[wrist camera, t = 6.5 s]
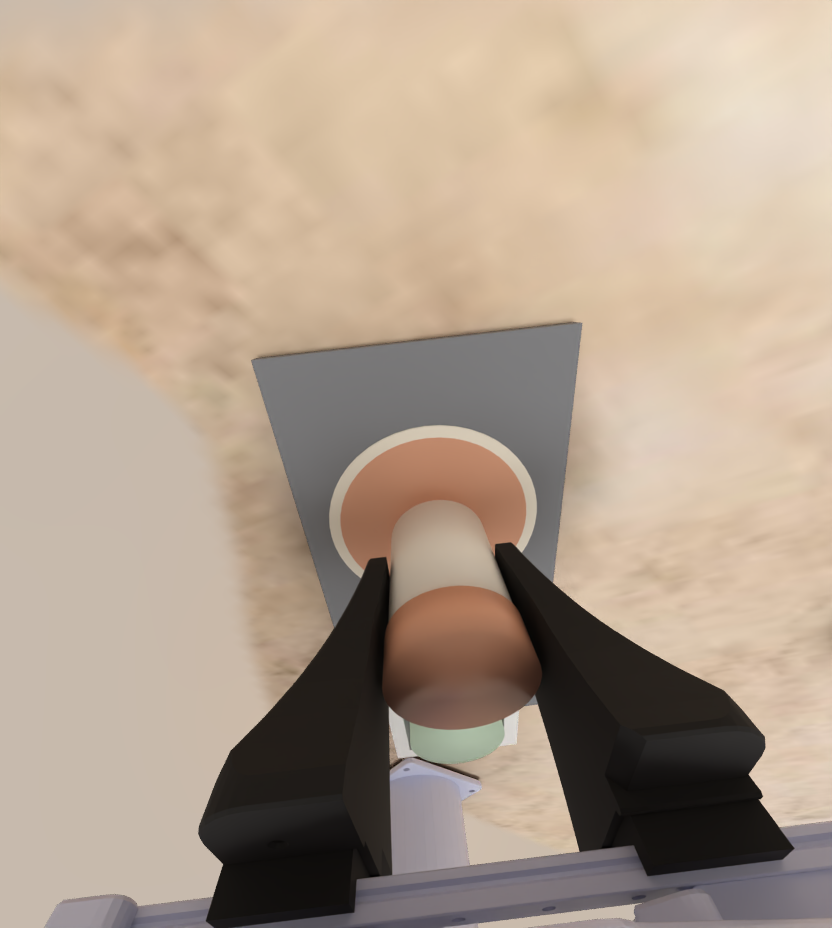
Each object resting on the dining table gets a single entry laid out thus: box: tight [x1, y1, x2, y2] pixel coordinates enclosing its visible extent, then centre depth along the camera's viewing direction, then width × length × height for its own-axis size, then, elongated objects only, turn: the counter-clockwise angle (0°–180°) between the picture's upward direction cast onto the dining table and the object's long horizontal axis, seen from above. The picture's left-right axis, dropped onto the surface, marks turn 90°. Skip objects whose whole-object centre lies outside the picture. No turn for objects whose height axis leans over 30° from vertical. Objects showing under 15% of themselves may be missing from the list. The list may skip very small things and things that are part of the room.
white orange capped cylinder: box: [382, 500, 542, 730], centre depth 11 cm, size 4×4×6 cm
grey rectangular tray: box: [251, 322, 582, 758], centre depth 16 cm, size 24×12×3 cm, turn 6°
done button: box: [410, 720, 505, 764], centre depth 18 cm, size 5×5×2 cm
